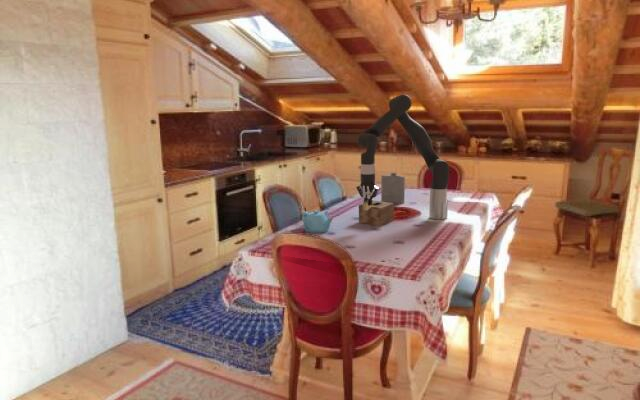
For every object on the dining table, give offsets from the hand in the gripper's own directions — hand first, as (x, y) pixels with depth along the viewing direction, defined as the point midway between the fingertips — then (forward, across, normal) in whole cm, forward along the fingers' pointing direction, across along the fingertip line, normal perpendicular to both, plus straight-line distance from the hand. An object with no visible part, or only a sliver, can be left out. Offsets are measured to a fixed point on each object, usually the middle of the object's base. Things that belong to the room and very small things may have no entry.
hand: (368, 205), depth 251 cm
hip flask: (+13, +22, -64) cm, 69 cm away
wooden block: (+2, 0, 0) cm, 2 cm away
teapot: (+13, +20, +18) cm, 30 cm away
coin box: (+13, +4, -15) cm, 20 cm away
